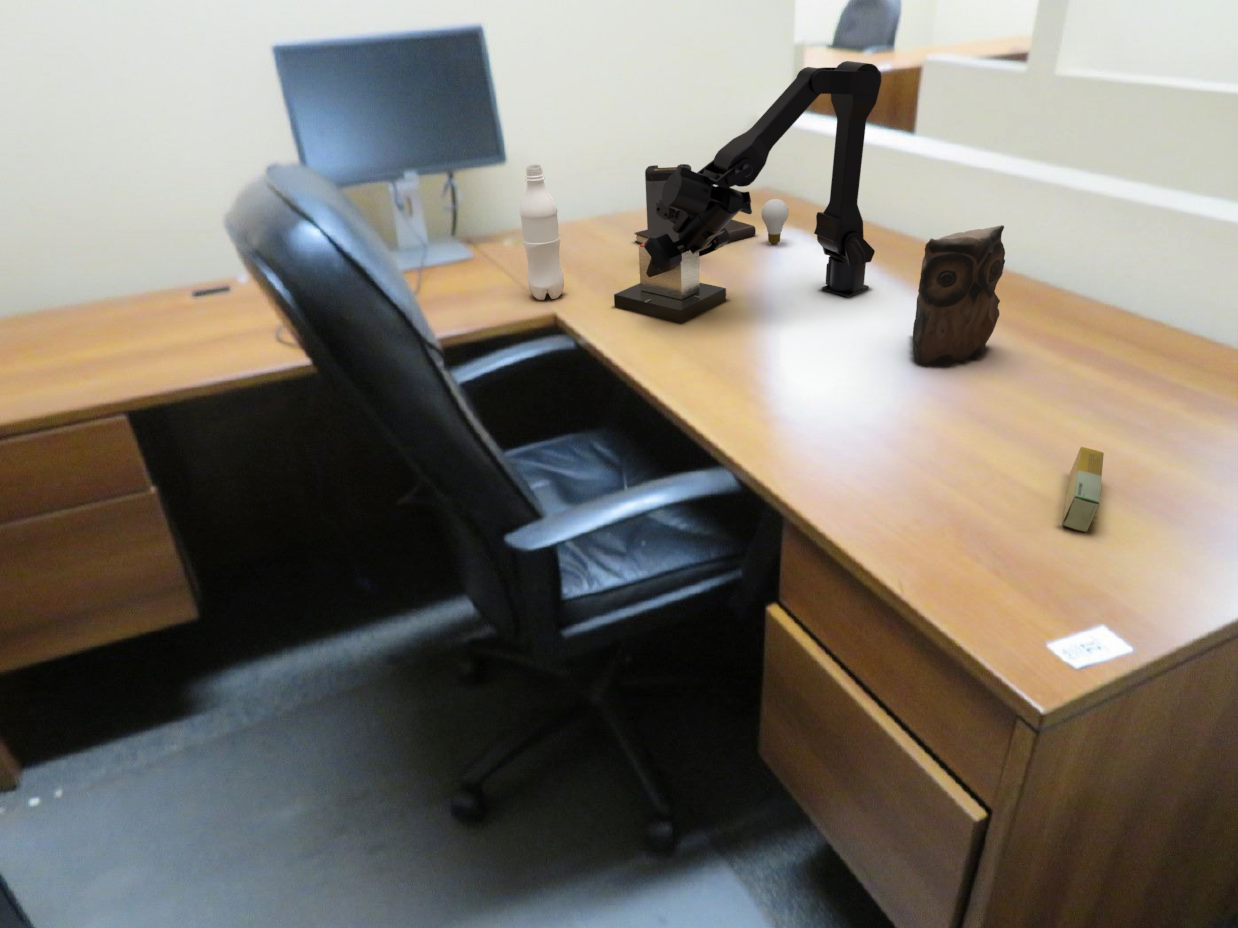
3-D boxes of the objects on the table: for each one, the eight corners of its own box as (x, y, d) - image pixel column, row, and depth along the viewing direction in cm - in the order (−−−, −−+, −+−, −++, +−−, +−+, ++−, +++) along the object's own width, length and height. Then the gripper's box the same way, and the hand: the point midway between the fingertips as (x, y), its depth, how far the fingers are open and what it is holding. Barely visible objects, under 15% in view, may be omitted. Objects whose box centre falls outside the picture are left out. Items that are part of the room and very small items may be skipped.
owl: (994, 346, 137) (1016, 221, 126) (980, 377, 127) (1003, 245, 117) (914, 335, 142) (929, 215, 132) (894, 364, 133) (909, 237, 123)
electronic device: (693, 258, 186) (691, 163, 176) (692, 267, 181) (690, 169, 171) (650, 260, 187) (646, 165, 177) (648, 268, 182) (644, 171, 172)
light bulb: (789, 247, 188) (791, 201, 183) (762, 249, 189) (763, 203, 184) (785, 240, 193) (787, 195, 188) (759, 241, 194) (760, 196, 189)
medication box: (1088, 534, 93) (1100, 505, 91) (1061, 526, 94) (1072, 497, 92) (1093, 478, 102) (1104, 450, 100) (1068, 472, 103) (1079, 444, 101)
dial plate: (726, 300, 162) (726, 287, 161) (680, 324, 153) (680, 309, 152) (661, 286, 172) (660, 273, 170) (614, 307, 163) (613, 293, 161)
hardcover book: (634, 242, 199) (634, 232, 198) (712, 223, 209) (712, 213, 208) (675, 257, 187) (675, 247, 186) (755, 236, 198) (755, 226, 196)
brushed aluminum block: (699, 291, 160) (699, 245, 155) (681, 300, 157) (680, 253, 152) (658, 282, 166) (656, 237, 161) (640, 290, 162) (638, 245, 158)
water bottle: (560, 302, 167) (547, 170, 154) (525, 302, 168) (509, 171, 156) (569, 290, 173) (557, 162, 160) (535, 289, 174) (520, 163, 162)
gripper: (716, 168, 154) (669, 222, 166) (650, 191, 142) (605, 246, 154) (751, 218, 153) (702, 268, 165) (688, 244, 142) (641, 296, 154)
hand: (663, 268), depth 160 cm, fingers open, 9 cm apart
